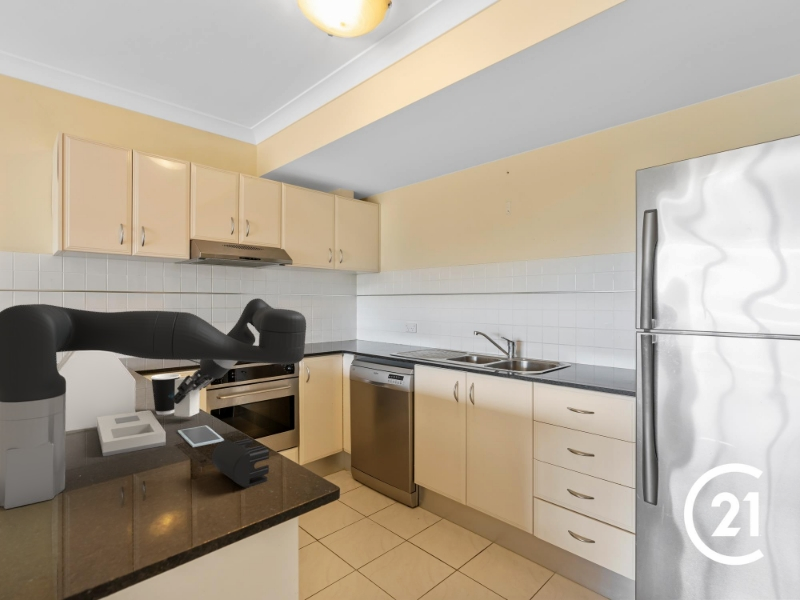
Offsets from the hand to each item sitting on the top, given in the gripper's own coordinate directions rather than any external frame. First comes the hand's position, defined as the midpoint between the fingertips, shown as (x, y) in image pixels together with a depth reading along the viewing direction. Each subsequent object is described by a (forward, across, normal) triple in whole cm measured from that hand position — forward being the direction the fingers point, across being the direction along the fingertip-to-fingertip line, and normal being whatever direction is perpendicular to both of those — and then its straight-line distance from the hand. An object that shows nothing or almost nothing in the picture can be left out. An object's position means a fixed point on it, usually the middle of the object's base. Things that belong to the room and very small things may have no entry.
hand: (181, 399), depth 118 cm
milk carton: (+22, -4, +13) cm, 25 cm away
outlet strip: (+7, -14, -2) cm, 16 cm away
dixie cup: (+11, +7, +2) cm, 13 cm away
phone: (-5, -11, -14) cm, 19 cm away
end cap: (-20, -33, -29) cm, 49 cm away
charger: (+2, 0, -4) cm, 5 cm away
